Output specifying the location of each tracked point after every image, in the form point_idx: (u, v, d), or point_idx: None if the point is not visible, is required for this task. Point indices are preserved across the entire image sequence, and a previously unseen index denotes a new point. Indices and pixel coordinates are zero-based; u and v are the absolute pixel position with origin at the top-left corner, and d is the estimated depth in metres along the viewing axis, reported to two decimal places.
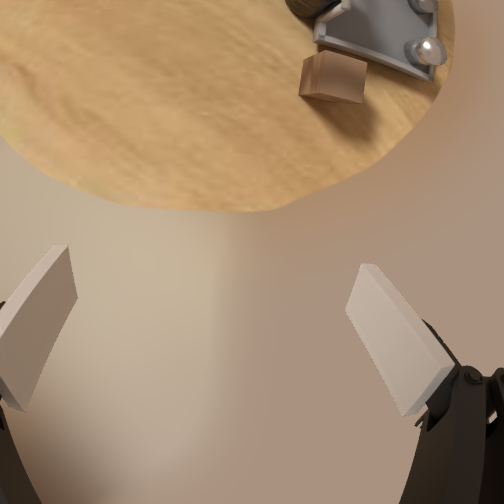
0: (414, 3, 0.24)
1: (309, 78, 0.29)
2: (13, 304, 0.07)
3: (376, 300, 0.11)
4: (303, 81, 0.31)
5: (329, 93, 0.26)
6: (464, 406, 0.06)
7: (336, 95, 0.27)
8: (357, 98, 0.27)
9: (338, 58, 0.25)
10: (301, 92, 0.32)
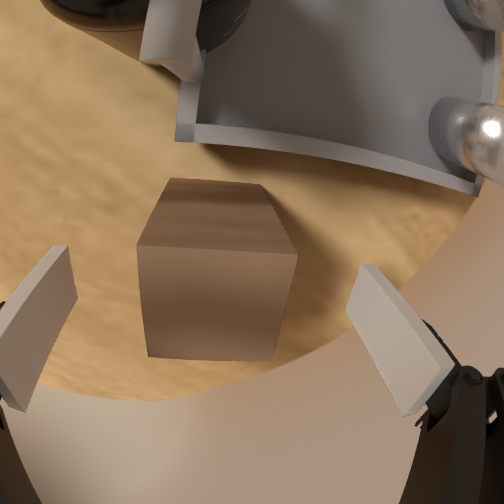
0: (461, 2, 0.08)
1: None
2: (13, 304, 0.07)
3: (376, 300, 0.11)
4: None
5: (174, 355, 0.11)
6: (464, 406, 0.06)
7: (194, 357, 0.11)
8: (258, 353, 0.11)
9: (186, 264, 0.09)
10: None
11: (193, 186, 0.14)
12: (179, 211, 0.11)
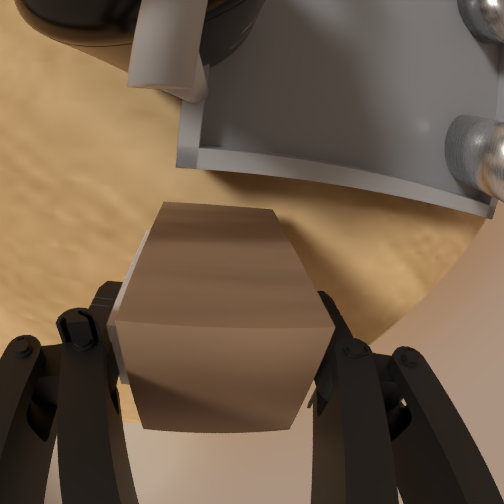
0: (478, 13, 0.07)
1: None
2: None
3: None
4: None
5: (174, 429, 0.08)
6: (349, 387, 0.07)
7: (199, 431, 0.08)
8: (274, 424, 0.09)
9: (184, 344, 0.06)
10: None
11: (191, 215, 0.12)
12: (173, 258, 0.08)
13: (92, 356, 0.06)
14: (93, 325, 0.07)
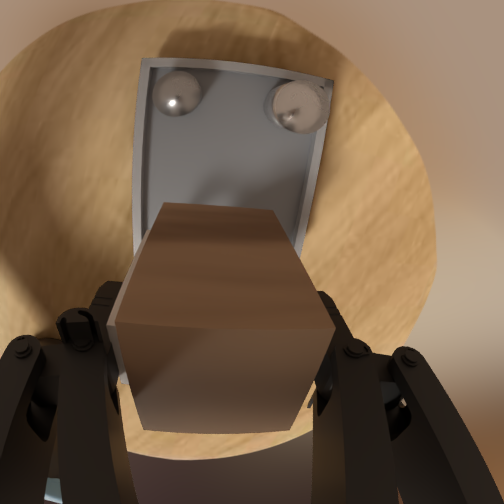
0: (188, 113, 0.21)
1: None
2: None
3: None
4: None
5: (174, 430, 0.08)
6: (349, 387, 0.07)
7: (199, 432, 0.08)
8: (274, 425, 0.09)
9: (184, 345, 0.06)
10: None
11: (191, 215, 0.12)
12: (173, 258, 0.08)
13: (92, 356, 0.06)
14: (93, 325, 0.07)
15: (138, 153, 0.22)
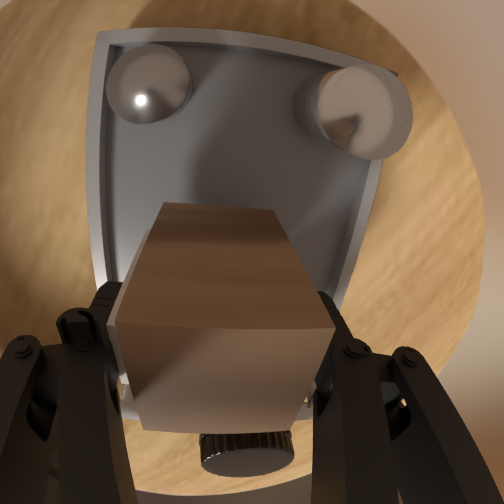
0: (168, 117, 0.12)
1: None
2: None
3: None
4: None
5: (174, 430, 0.08)
6: (349, 387, 0.07)
7: (199, 431, 0.08)
8: (275, 425, 0.08)
9: (184, 345, 0.06)
10: None
11: (191, 215, 0.12)
12: (173, 258, 0.08)
13: (92, 356, 0.06)
14: (93, 325, 0.07)
15: (94, 184, 0.13)
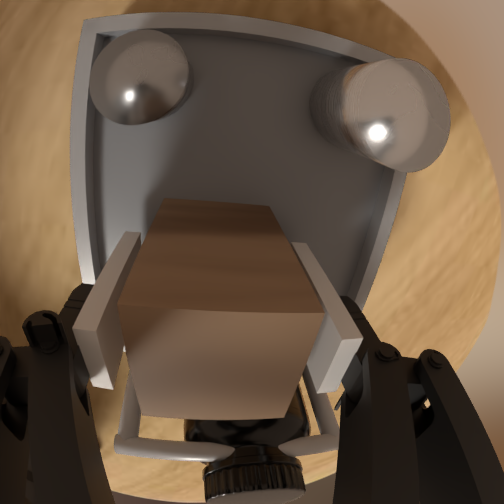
0: (164, 116, 0.10)
1: None
2: (105, 283, 0.09)
3: None
4: None
5: (172, 415, 0.09)
6: (379, 389, 0.07)
7: (196, 417, 0.09)
8: (269, 412, 0.09)
9: (181, 327, 0.07)
10: None
11: (191, 210, 0.12)
12: (173, 249, 0.09)
13: (58, 358, 0.06)
14: (58, 327, 0.06)
15: (80, 195, 0.12)
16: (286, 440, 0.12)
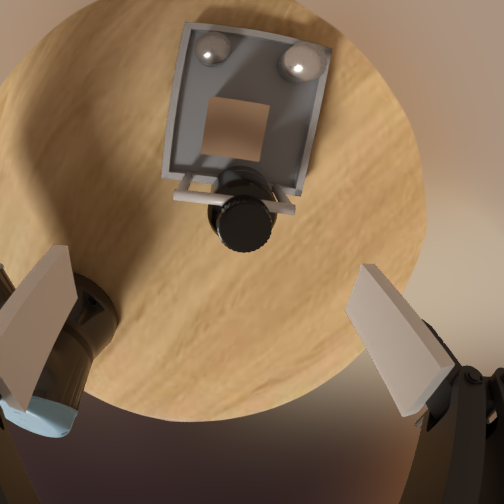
0: (218, 64, 0.25)
1: None
2: (13, 304, 0.07)
3: (376, 300, 0.11)
4: None
5: (213, 153, 0.24)
6: (464, 406, 0.06)
7: (223, 154, 0.24)
8: (253, 155, 0.24)
9: (227, 105, 0.22)
10: None
11: None
12: None
13: None
14: None
15: (176, 92, 0.27)
16: (262, 198, 0.27)
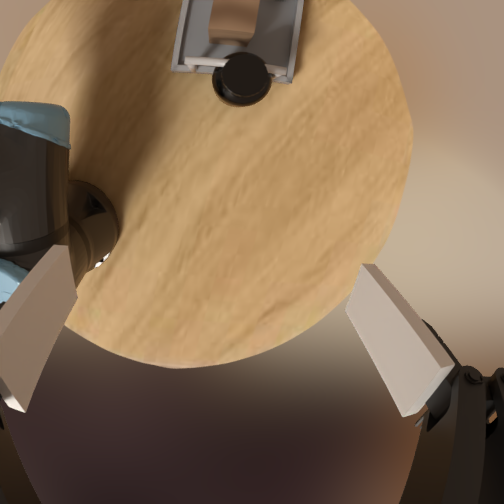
0: None
1: None
2: (13, 304, 0.07)
3: (376, 300, 0.11)
4: None
5: (218, 27, 0.24)
6: (464, 406, 0.06)
7: (225, 28, 0.24)
8: (249, 28, 0.25)
9: None
10: (209, 39, 0.30)
11: None
12: None
13: None
14: None
15: (185, 6, 0.27)
16: None
